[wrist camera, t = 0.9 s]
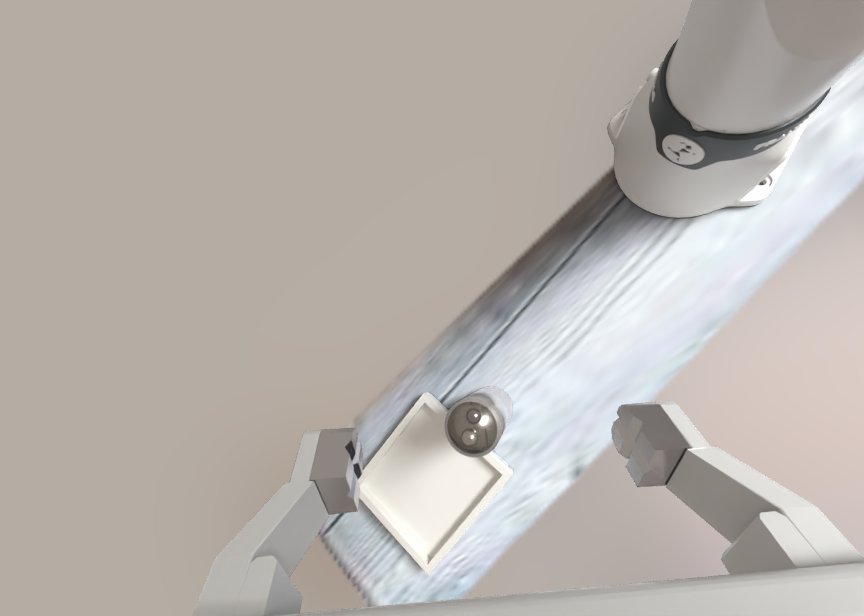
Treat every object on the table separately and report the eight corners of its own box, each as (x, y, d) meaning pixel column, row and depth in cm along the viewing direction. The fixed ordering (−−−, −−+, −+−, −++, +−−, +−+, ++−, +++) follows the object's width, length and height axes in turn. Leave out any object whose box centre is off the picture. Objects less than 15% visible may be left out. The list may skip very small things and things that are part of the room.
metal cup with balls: (488, 377, 46) (465, 387, 33) (521, 405, 44) (512, 427, 31) (463, 408, 46) (430, 430, 33) (495, 437, 45) (474, 472, 32)
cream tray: (428, 391, 48) (423, 393, 46) (513, 469, 44) (512, 474, 42) (357, 482, 49) (349, 487, 47) (433, 566, 45) (428, 575, 43)
